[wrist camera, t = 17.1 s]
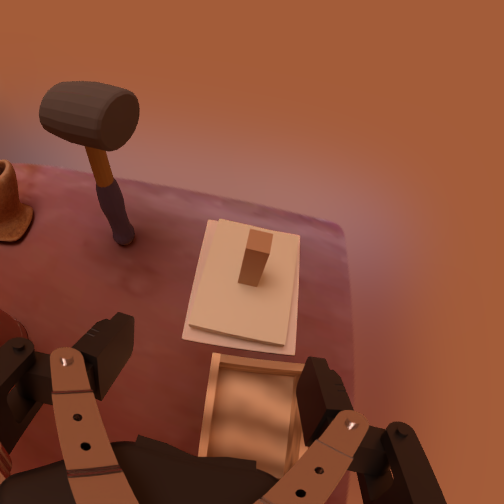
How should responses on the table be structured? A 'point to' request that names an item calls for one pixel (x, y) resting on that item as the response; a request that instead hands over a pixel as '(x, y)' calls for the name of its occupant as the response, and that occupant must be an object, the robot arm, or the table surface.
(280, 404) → the wooden box
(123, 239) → the rubber mallet
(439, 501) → the robot arm
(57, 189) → the table surface
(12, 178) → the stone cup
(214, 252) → the lid
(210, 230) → the mat
